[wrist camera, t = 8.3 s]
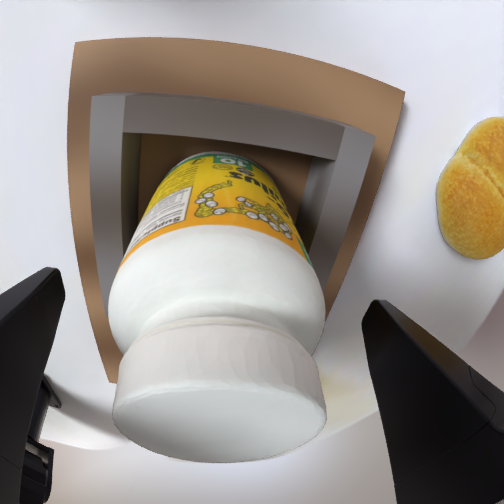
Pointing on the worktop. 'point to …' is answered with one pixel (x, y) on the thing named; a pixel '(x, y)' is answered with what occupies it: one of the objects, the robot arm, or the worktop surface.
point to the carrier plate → (218, 146)
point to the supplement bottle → (217, 319)
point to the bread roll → (474, 192)
